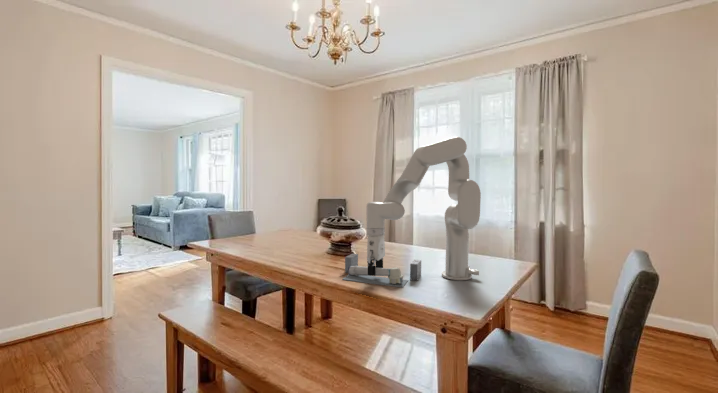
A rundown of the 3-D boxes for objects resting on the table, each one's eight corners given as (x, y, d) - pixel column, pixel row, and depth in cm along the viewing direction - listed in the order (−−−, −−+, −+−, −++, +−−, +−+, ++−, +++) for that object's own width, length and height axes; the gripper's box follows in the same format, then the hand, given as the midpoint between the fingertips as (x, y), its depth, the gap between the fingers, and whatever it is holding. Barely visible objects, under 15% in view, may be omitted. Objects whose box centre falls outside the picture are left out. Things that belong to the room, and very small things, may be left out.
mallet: (352, 264, 151) (404, 264, 138) (354, 279, 151) (406, 280, 138) (346, 267, 147) (398, 267, 134) (348, 282, 147) (400, 284, 133)
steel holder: (421, 275, 149) (421, 260, 149) (417, 281, 142) (417, 264, 141) (352, 268, 161) (352, 253, 161) (345, 272, 154) (345, 257, 154)
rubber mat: (408, 281, 141) (408, 280, 141) (402, 287, 133) (402, 286, 133) (350, 274, 151) (350, 273, 151) (342, 279, 143) (342, 278, 143)
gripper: (377, 235, 132) (377, 279, 133) (390, 229, 148) (390, 267, 149) (359, 234, 134) (359, 277, 135) (374, 228, 150) (374, 266, 151)
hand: (375, 272), depth 142 cm, fingers open, 9 cm apart
